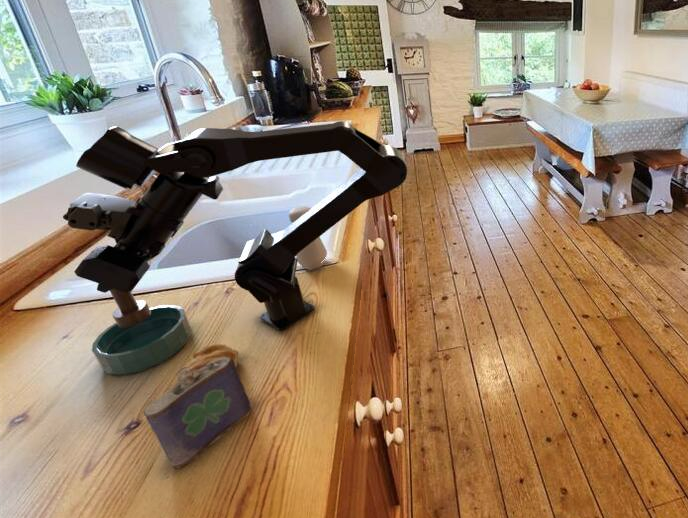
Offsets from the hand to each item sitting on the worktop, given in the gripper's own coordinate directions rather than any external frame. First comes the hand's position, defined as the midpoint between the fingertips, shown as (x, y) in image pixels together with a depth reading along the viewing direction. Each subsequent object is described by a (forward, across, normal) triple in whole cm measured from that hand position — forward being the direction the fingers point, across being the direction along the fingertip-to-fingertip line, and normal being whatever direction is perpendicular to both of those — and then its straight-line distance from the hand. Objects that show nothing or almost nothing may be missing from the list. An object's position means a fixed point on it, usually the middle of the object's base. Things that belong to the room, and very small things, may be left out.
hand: (105, 286), depth 60 cm
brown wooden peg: (+4, 0, +6) cm, 7 cm away
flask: (-2, +21, +20) cm, 29 cm away
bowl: (+8, 0, +10) cm, 13 cm away
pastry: (0, +12, +18) cm, 22 cm away
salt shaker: (-8, -15, +27) cm, 32 cm away
